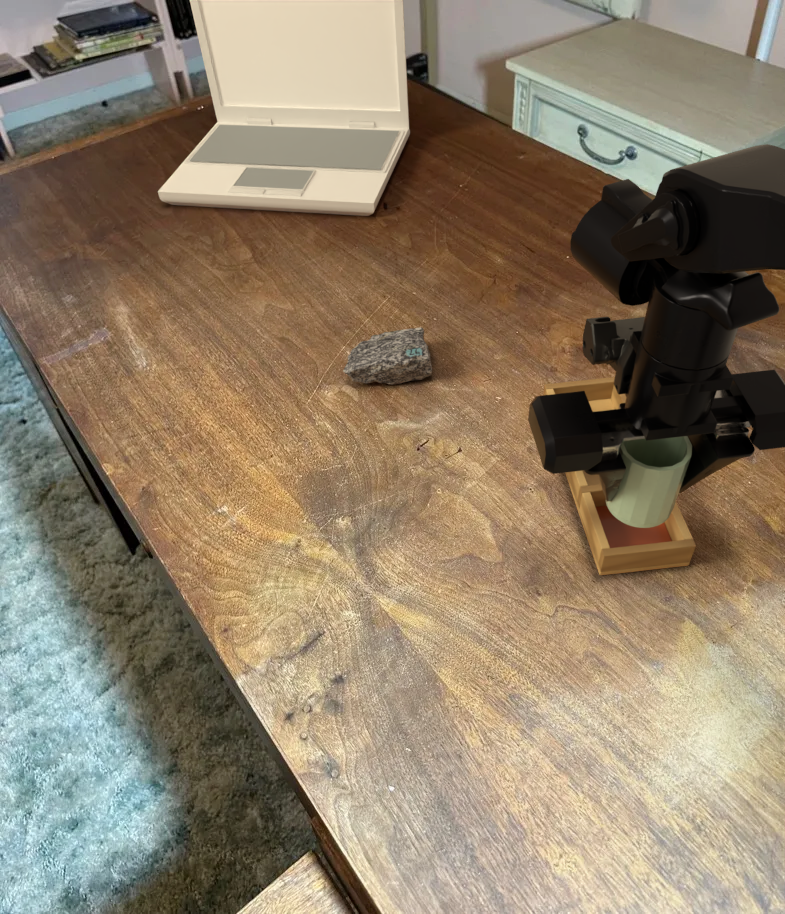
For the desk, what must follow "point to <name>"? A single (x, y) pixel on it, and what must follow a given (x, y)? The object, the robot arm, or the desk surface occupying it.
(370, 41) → the laptop
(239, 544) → the desk surface
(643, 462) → the cup
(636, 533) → the rack
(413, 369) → the rock
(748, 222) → the robot arm
